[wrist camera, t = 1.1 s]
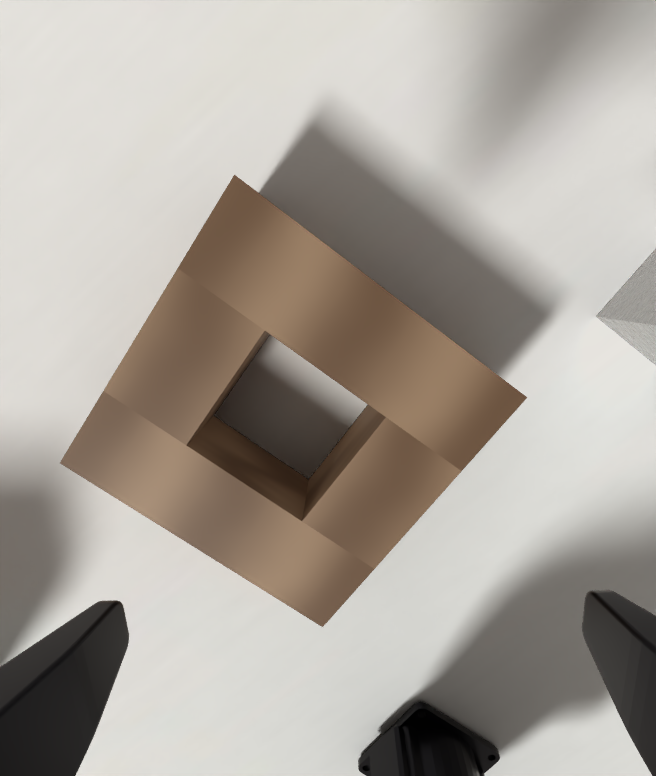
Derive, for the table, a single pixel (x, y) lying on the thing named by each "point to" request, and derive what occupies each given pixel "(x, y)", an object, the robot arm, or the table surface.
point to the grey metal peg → (636, 310)
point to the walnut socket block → (249, 461)
